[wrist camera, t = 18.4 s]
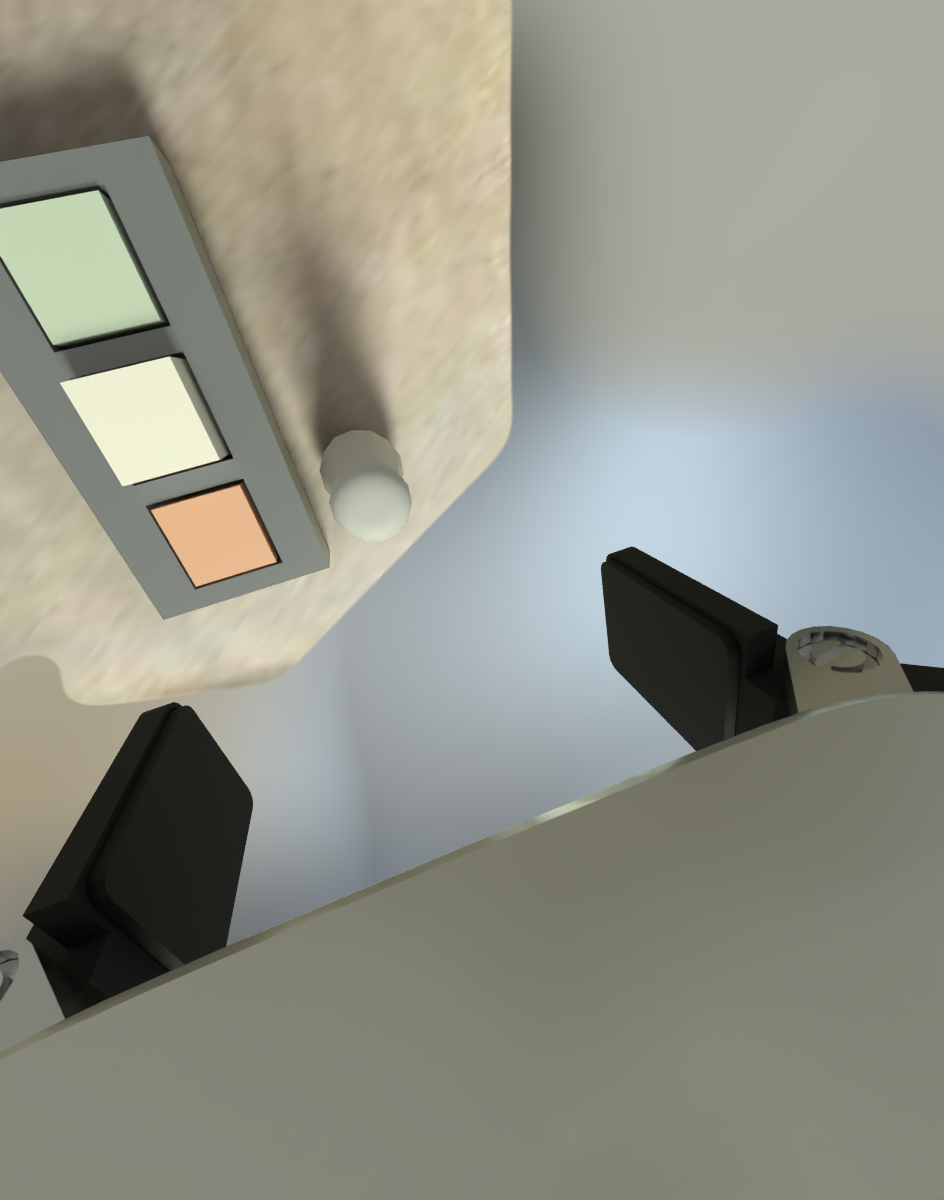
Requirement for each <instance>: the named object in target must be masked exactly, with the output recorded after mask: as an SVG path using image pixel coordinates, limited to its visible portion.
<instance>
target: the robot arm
mask: <svg viewBox="0 0 944 1200" xmlns="http://www.w3.org/2000/svg"><path fill="white" fill-rule="evenodd" d="M601 575H602V585H603V596H604V606H605V616H606V626H607V636H608V647H609V655H610V660H611V662H612V664H613V666H614V668H615V669H616V670H617V671H618V672H619V673H620V674H621V675H622V676H623V677H624V678H625V679H626V680H627V681H628V682H629V683H630V684H631V685H632V686H633V687H634V688H635V689H636V690H637V691H638V693H639V694H641V696H642V697H643V698H645V700H647V702H648V703H649V704H650V705H651V706H652V707H653V708H654V709H655V710H656V711H657V712H658V713H659V714H660V715H661V716H662V717H663V718H664V719H666V721H667V722H668V723H669V724H670V725H671V726H672V727H673V728H674V729H675V730H676V731H677V732H678V733H679V734H680V735H681V736H682V737H683V738H684V739H685V740H686V741H687V742H688V743H689V744H690V745H691V746H692V747H693V748H694V749H695V750H696V752H693V753H691V754H688V755H686V756H683V757H680V758H678V759H676V760H673V761H671V762H669V763H666V764H663V765H661V766H659V767H656V768H654V769H651V770H649V771H647V772H644V773H641V774H639V775H637V776H634V777H632V778H629V779H627V780H624V781H622V782H620V783H617V784H615V785H612V786H610V787H607V788H605V789H602V790H600V791H598V792H595V793H593V794H590V795H588V796H585V797H583V798H581V799H578V800H576V801H573V802H571V803H568V804H566V805H563V806H561V807H558V808H556V809H554V810H551V811H549V812H546V813H544V814H542V815H539V816H537V817H535V818H532V819H530V820H527V821H525V822H522V823H520V824H518V825H515V826H513V827H510V828H508V829H505V830H503V831H501V832H498V833H496V834H493V835H491V836H489V837H486V838H484V839H481V840H479V841H477V842H474V843H472V844H469V845H467V846H465V847H462V848H460V849H457V850H455V851H453V852H450V853H448V854H445V855H443V856H441V857H438V858H436V859H433V860H431V861H429V862H426V863H424V864H421V865H419V866H417V867H414V868H412V869H409V870H407V871H405V872H402V873H400V874H397V875H395V876H393V877H390V878H388V879H385V880H383V881H381V882H378V883H376V884H374V885H372V886H369V887H366V888H364V889H362V890H360V891H357V892H355V893H352V894H350V895H348V896H345V897H343V898H340V899H338V900H336V901H334V902H331V903H329V904H327V905H324V906H322V907H319V908H317V909H315V910H312V911H310V912H308V913H305V914H303V915H300V916H298V917H296V918H293V919H291V920H288V921H286V922H284V923H281V924H279V925H277V926H274V927H272V928H269V929H267V930H265V931H262V932H260V933H258V934H255V935H253V936H251V937H248V938H246V939H243V940H241V941H239V942H236V943H234V944H232V945H229V946H227V947H226V943H227V938H228V933H229V928H230V923H231V917H232V912H233V907H234V902H235V897H236V892H237V886H238V881H239V876H240V871H241V866H242V861H243V855H244V850H245V845H246V840H247V834H248V830H249V824H250V819H251V813H252V809H253V800H252V796H251V792H250V791H249V789H248V787H247V786H246V784H245V783H244V782H243V780H242V779H241V777H240V776H239V775H238V773H237V772H236V770H235V769H234V767H233V766H232V764H231V763H230V762H229V760H228V759H227V757H226V756H225V754H224V753H223V752H222V750H221V749H220V747H219V746H218V745H217V743H216V741H215V740H214V739H213V737H212V736H211V734H210V733H209V732H208V730H207V729H206V727H205V726H204V724H203V723H202V722H201V720H200V719H199V717H198V716H197V714H196V713H195V711H194V710H193V709H192V708H191V707H190V706H183V707H182V706H181V705H180V704H178V703H175V702H173V703H170V704H167V705H164V706H161V707H158V708H155V709H152V710H149V711H146V712H144V713H142V714H141V715H140V717H139V718H138V720H137V722H136V723H135V725H134V727H133V729H132V730H131V732H130V734H129V736H128V737H127V739H126V740H125V742H124V744H123V746H122V747H121V749H120V751H119V752H118V754H117V756H116V757H115V759H114V761H113V763H112V764H111V766H110V768H109V769H108V771H107V773H106V775H105V776H104V778H103V780H102V781H101V783H100V785H99V786H98V788H97V790H96V792H95V793H94V795H93V797H92V799H91V800H90V802H89V803H88V805H87V807H86V809H85V811H84V812H83V814H82V816H81V817H80V819H79V821H78V822H77V824H76V826H75V827H74V829H73V831H72V833H71V834H70V836H69V838H68V839H67V841H66V843H65V844H64V846H63V848H62V850H61V851H60V853H59V855H58V856H57V858H56V860H55V861H54V863H53V865H52V867H51V868H50V870H49V872H48V873H47V875H46V877H45V879H44V880H43V882H42V884H41V885H40V887H39V889H38V890H37V892H36V894H35V896H34V897H33V899H32V901H31V902H30V904H29V906H28V907H27V909H26V911H25V913H24V914H23V916H24V917H25V918H26V919H28V920H29V921H30V922H32V923H33V924H34V925H33V927H32V929H31V931H30V933H29V934H28V936H27V938H15V937H13V938H10V939H7V940H4V941H0V1200H944V668H938V667H929V666H919V665H909V664H900V663H899V661H898V659H897V657H896V655H895V653H894V652H893V651H892V650H891V648H890V647H889V646H888V645H886V644H885V643H883V642H882V641H880V640H879V639H877V638H875V637H873V636H871V635H868V634H866V633H863V632H860V631H856V630H852V629H848V628H842V627H833V626H822V627H821V626H818V627H810V628H805V629H801V630H799V631H797V632H795V633H793V634H792V635H791V636H790V637H789V638H788V639H786V638H784V637H782V636H780V635H778V634H777V629H778V625H777V624H775V623H773V622H771V621H770V620H768V619H766V618H764V617H762V616H760V615H758V614H756V613H754V612H753V611H751V610H749V609H747V608H746V607H744V606H742V605H740V604H738V603H736V602H735V601H732V600H731V599H729V598H727V597H725V596H723V595H722V594H720V593H718V592H716V591H714V590H712V589H711V588H709V587H707V586H705V585H703V584H701V583H700V582H698V581H696V580H694V579H692V578H690V577H688V576H687V575H684V574H683V573H681V572H679V571H677V570H676V569H674V568H672V567H670V566H668V565H666V564H664V563H663V562H661V561H659V560H657V559H655V558H653V557H651V556H650V555H648V554H646V553H644V552H642V551H640V550H639V549H637V548H635V547H629V548H626V549H623V550H620V551H617V552H614V553H611V554H609V555H608V556H607V559H606V562H604V563H602V565H601Z"/></svg>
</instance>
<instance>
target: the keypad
mask: <svg viewBox="0 0 944 1200" xmlns="http://www.w3.org/2000/svg"><path fill="white" fill-rule="evenodd" d="M97 190H99V191H100V192H101V193H102V194H104V195H105V196H106V197H107V198H108V199H110V200H111V201H112V202H113V204H114V206H115V208H116V210H117V212H118V214H119V217H120V219H121V221H122V223H123V225H124V227H125V229H126V231H127V233H128V236H129V238H130V240H131V242H132V244H133V246H134V248H135V250H136V253H137V255H138V257H139V259H140V261H141V263H142V265H143V267H144V270H145V272H146V274H147V276H148V278H149V280H150V282H151V284H152V286H153V289H154V291H155V293H156V295H157V297H158V299H159V301H160V303H161V306H162V308H163V310H164V312H165V314H166V316H167V318H168V320H169V323H170V325H171V326H167V327H163V328H159V329H154V330H150V331H146V332H141V333H137V334H133V335H128V336H124V337H120V338H115V339H111V340H107V341H102V342H98V343H94V344H89V345H85V346H81V347H76V348H73V347H66V346H59V345H53V344H52V342H51V341H50V339H49V337H48V336H47V334H46V332H45V330H44V329H43V327H42V325H41V324H40V322H39V320H38V319H37V317H36V315H35V314H34V312H33V310H32V308H31V307H30V305H29V303H28V302H27V300H26V298H25V297H24V295H23V293H22V292H21V290H20V288H19V286H18V285H17V283H16V281H15V280H14V278H13V276H12V275H11V273H10V271H9V270H8V268H7V266H6V264H5V263H4V261H3V259H2V258H1V256H0V372H1V373H2V375H3V376H4V378H5V379H6V381H7V382H8V384H9V385H10V387H11V388H12V390H13V391H14V393H15V394H16V396H17V397H18V399H19V400H20V402H21V403H22V405H23V407H24V408H25V410H26V411H27V413H28V414H29V416H30V417H31V419H32V420H33V422H34V423H35V425H36V426H37V428H38V429H39V431H40V432H41V434H42V435H43V437H44V439H45V440H46V442H47V443H48V445H49V446H50V448H51V449H52V451H53V452H54V454H55V455H56V457H57V458H58V460H59V461H60V463H61V464H62V466H63V467H64V469H65V471H66V472H67V474H68V475H69V477H70V478H71V480H72V481H73V483H74V484H75V486H76V487H77V489H78V490H79V492H80V493H81V495H82V496H83V498H84V499H85V501H86V503H87V504H88V506H89V507H90V509H91V510H92V512H93V513H94V515H95V516H96V518H97V519H98V521H99V522H100V524H101V525H102V527H103V528H104V530H105V531H106V533H107V535H108V536H109V538H110V539H111V541H112V542H113V544H114V545H115V547H116V548H117V550H118V551H119V553H120V554H121V556H122V557H123V559H124V560H125V562H126V563H127V565H128V567H129V568H130V570H131V571H132V573H133V574H134V576H135V577H136V579H137V580H138V582H139V583H140V585H141V586H142V588H143V589H144V591H145V592H146V594H147V595H148V597H149V599H150V600H151V602H152V603H153V605H154V606H155V608H156V609H157V611H158V612H159V614H160V615H161V617H162V618H163V620H165V619H168V618H171V617H174V616H177V615H180V614H184V613H187V612H190V611H193V610H196V609H199V608H203V607H206V606H209V605H212V604H215V603H218V602H222V601H225V600H228V599H231V598H234V597H238V596H241V595H244V594H247V593H250V592H253V591H257V590H260V589H263V588H266V587H269V586H272V585H276V584H279V583H282V582H285V581H288V580H291V579H295V578H298V577H301V576H304V575H307V574H310V573H314V572H317V571H320V570H323V569H326V568H329V566H330V551H329V549H328V546H327V544H326V541H325V539H324V536H323V534H322V531H321V529H320V527H319V524H318V522H317V519H316V517H315V514H314V512H313V510H312V507H311V505H310V502H309V500H308V497H307V495H306V493H305V490H304V488H303V485H302V483H301V480H300V478H299V476H298V473H297V471H296V468H295V466H294V463H293V461H292V459H291V456H290V454H289V451H288V449H287V446H286V444H285V441H284V439H283V437H282V434H281V432H280V429H279V427H278V424H277V422H276V420H275V417H274V415H273V412H272V410H271V407H270V405H269V403H268V400H267V398H266V395H265V393H264V390H263V388H262V386H261V383H260V381H259V378H258V376H257V373H256V371H255V369H254V366H253V364H252V361H251V359H250V356H249V354H248V352H247V349H246V347H245V344H244V342H243V339H242V337H241V334H240V332H239V330H238V327H237V325H236V322H235V320H234V317H233V315H232V313H231V310H230V308H229V305H228V303H227V300H226V298H225V296H224V293H223V291H222V288H221V286H220V283H219V281H218V279H217V276H216V274H215V271H214V269H213V266H212V264H211V262H210V259H209V257H208V254H207V252H206V249H205V247H204V244H203V242H202V240H201V237H200V235H199V232H198V230H197V227H196V225H195V223H194V220H193V218H192V215H191V213H190V210H189V208H188V206H187V203H186V201H185V198H184V196H183V193H182V191H181V189H180V186H179V184H178V181H177V179H176V176H175V174H174V172H173V169H172V167H171V165H170V164H169V163H168V161H167V160H166V159H165V157H164V156H163V155H162V153H161V152H160V151H159V149H158V148H157V147H156V145H155V144H154V142H153V141H152V140H151V138H150V137H149V136H145V137H139V138H133V139H127V140H122V141H116V142H110V143H105V144H99V145H93V146H88V147H82V148H76V149H70V150H65V151H59V152H53V153H48V154H42V155H36V156H31V157H25V158H19V159H13V160H8V161H2V162H0V209H1V208H6V207H12V206H17V205H22V204H28V203H33V202H38V201H44V200H49V199H54V198H60V197H65V196H70V195H75V194H81V193H86V192H91V191H97ZM169 356H170V357H176V358H181V359H184V358H186V359H187V361H188V363H189V365H190V367H191V369H192V371H193V373H194V376H195V378H196V380H197V382H198V384H199V386H200V388H201V390H202V392H203V395H204V397H205V399H206V401H207V403H208V405H209V407H210V409H211V412H212V414H213V416H214V418H215V420H216V422H217V424H218V426H219V428H220V431H221V433H222V435H223V437H224V439H225V441H226V443H227V445H228V448H229V450H230V452H231V454H232V455H229V456H225V457H223V458H222V459H220V460H218V461H214V462H210V463H207V464H203V465H199V466H196V467H192V468H188V469H185V470H181V471H177V472H174V473H170V474H166V475H163V476H159V477H155V478H152V479H148V480H145V481H141V482H137V483H134V484H130V485H126V486H122V485H121V483H120V481H119V480H118V478H117V476H116V475H115V473H114V471H113V470H112V468H111V466H110V465H109V463H108V461H107V460H106V458H105V457H104V455H103V453H102V452H101V450H100V448H99V447H98V445H97V443H96V442H95V440H94V438H93V437H92V435H91V433H90V432H89V430H88V428H87V427H86V425H85V424H84V422H83V420H82V419H81V417H80V415H79V414H78V412H77V410H76V409H75V407H74V405H73V404H72V402H71V400H70V399H69V397H68V395H67V394H66V392H65V391H64V389H63V387H62V386H61V384H60V383H61V382H65V381H69V380H74V379H78V378H82V377H86V376H90V375H94V374H99V373H103V372H107V371H111V370H115V369H119V368H124V367H128V366H132V365H136V364H140V363H144V362H149V361H153V360H157V359H161V358H165V357H169ZM240 479H244V481H245V484H246V486H247V488H248V490H249V492H250V494H251V496H252V498H253V501H254V503H255V505H256V507H257V509H258V511H259V513H260V515H261V518H262V520H263V522H264V524H265V526H266V528H267V530H268V532H269V534H270V537H271V539H272V541H273V543H274V545H275V547H276V549H277V551H278V554H279V555H278V558H277V562H275V563H271V564H268V565H265V566H262V567H258V568H255V569H252V570H249V571H245V572H242V573H239V574H236V575H232V576H229V577H226V578H223V579H219V580H216V581H213V582H210V583H206V584H203V585H200V586H197V587H196V586H195V584H194V583H193V581H192V579H191V577H190V576H189V574H188V572H187V571H186V569H185V567H184V566H183V564H182V562H181V561H180V559H179V557H178V555H177V554H176V552H175V550H174V549H173V547H172V545H171V544H170V542H169V540H168V539H167V537H166V535H165V533H164V532H163V530H162V528H161V527H160V525H159V523H158V522H157V520H156V518H155V517H154V515H153V513H152V511H151V510H152V509H154V508H155V507H157V506H158V505H159V504H161V503H162V502H164V501H165V500H169V499H172V498H176V497H179V496H183V495H186V494H190V493H193V492H197V491H201V490H204V489H208V488H211V487H215V486H218V485H222V484H225V483H229V482H233V481H236V480H240Z"/></svg>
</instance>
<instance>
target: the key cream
mask: <svg viewBox="0 0 944 1200" xmlns="http://www.w3.org/2000/svg"><path fill="white" fill-rule="evenodd" d="M60 384H61V386H62V387H63V389H64V391H65V392H66V394H67V395H68V397H69V399H70V400H71V402H72V404H73V405H74V407H75V409H76V410H77V412H78V414H79V415H80V417H81V419H82V420H83V422H84V424H85V425H86V427H87V428H88V430H89V432H90V433H91V435H92V437H93V438H94V440H95V442H96V443H97V445H98V447H99V448H100V450H101V452H102V453H103V455H104V457H105V458H106V460H107V461H108V463H109V465H110V466H111V468H112V470H113V471H114V473H115V475H116V476H117V478H118V480H119V481H120V483H121V485H122V486H126V485H130V484H134V483H137V482H141V481H145V480H148V479H152V478H155V477H159V476H163V475H166V474H170V473H174V472H177V471H181V470H185V469H188V468H192V467H196V466H199V465H203V464H207V463H210V462H214V461H218V460H220V459H222V458H223V457H225V456H227V455H228V454H230V453H231V452H230V450H229V448H228V445H227V443H226V441H225V439H224V437H223V435H222V433H221V431H220V428H219V426H218V424H217V422H216V420H215V418H214V416H213V414H212V412H211V409H210V407H209V405H208V403H207V401H206V399H205V397H204V395H203V392H202V390H201V388H200V386H199V384H198V382H197V380H196V378H195V376H194V373H193V371H192V369H191V367H190V365H189V363H188V361H187V359H181V358H176V357H170V356H169V357H165V358H161V359H157V360H153V361H149V362H144V363H140V364H136V365H132V366H128V367H124V368H119V369H115V370H111V371H107V372H103V373H99V374H94V375H90V376H86V377H82V378H78V379H74V380H69V381H65V382H61V383H60Z"/></svg>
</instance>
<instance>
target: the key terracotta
mask: <svg viewBox="0 0 944 1200" xmlns="http://www.w3.org/2000/svg"><path fill="white" fill-rule="evenodd" d="M151 511H152V513H153V515H154V517H155V518H156V520H157V522H158V523H159V525H160V527H161V528H162V530H163V532H164V533H165V535H166V537H167V539H168V540H169V542H170V544H171V545H172V547H173V549H174V550H175V552H176V554H177V555H178V557H179V559H180V561H181V562H182V564H183V566H184V567H185V569H186V571H187V572H188V574H189V576H190V577H191V579H192V581H193V583H194V584H195V586H196V587H197V586H200V585H203V584H206V583H210V582H213V581H216V580H219V579H223V578H226V577H229V576H232V575H236V574H239V573H242V572H245V571H249V570H252V569H255V568H258V567H262V566H265V565H268V564H271V563H275V562H277V558H278V555H279V554H278V551H277V549H276V547H275V545H274V543H273V541H272V539H271V537H270V534H269V532H268V530H267V528H266V526H265V524H264V522H263V520H262V518H261V515H260V513H259V511H258V509H257V507H256V505H255V503H254V501H253V498H252V496H251V494H250V492H249V490H248V488H247V486H246V484H245V481H244V479H240V480H236V481H233V482H229V483H225V484H222V485H218V486H215V487H211V488H208V489H204V490H201V491H197V492H193V493H190V494H186V495H183V496H179V497H176V498H172V499H169V500H165V501H164V502H162V503H161V504H159V505H158V506H157V507H155V508H154V509H152V510H151Z"/></svg>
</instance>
